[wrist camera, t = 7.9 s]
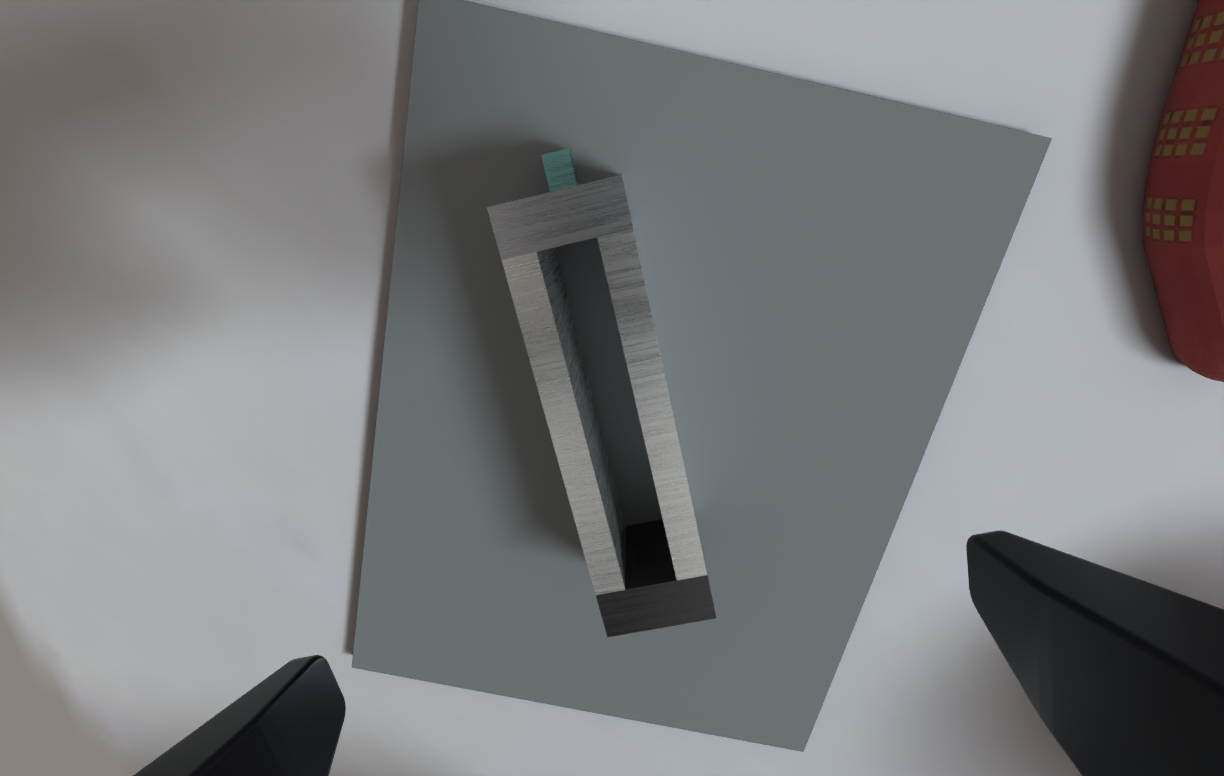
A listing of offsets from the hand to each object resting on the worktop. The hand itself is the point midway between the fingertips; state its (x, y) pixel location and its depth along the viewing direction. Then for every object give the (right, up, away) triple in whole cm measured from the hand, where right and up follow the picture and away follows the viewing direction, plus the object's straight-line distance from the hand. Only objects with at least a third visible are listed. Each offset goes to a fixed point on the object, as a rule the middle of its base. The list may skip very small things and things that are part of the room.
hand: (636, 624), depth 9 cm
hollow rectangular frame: (+1, -2, +7) cm, 8 cm away
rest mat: (+1, +2, +8) cm, 8 cm away
